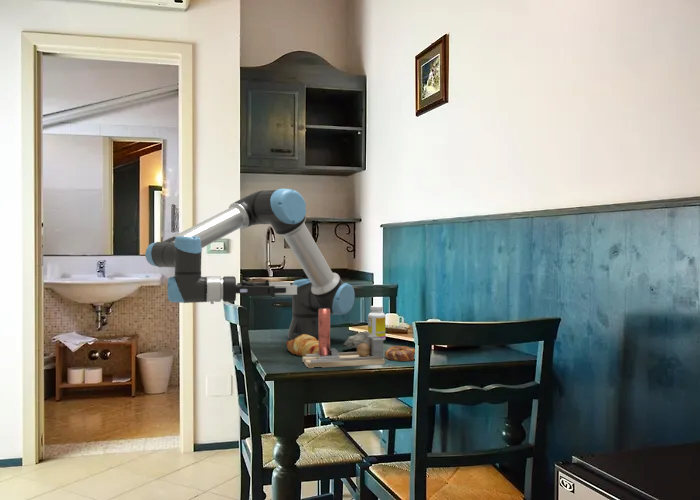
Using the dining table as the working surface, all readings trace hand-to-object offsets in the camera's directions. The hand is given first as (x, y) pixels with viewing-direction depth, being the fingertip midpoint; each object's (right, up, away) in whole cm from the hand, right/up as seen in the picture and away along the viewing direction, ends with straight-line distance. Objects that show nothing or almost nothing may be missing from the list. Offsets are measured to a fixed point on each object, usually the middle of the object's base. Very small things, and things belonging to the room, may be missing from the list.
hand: (293, 288), depth 182 cm
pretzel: (+34, -24, +12) cm, 43 cm away
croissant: (+2, -24, +19) cm, 30 cm away
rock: (+21, -24, +24) cm, 40 cm away
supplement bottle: (+28, -23, +46) cm, 58 cm away
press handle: (+10, -22, +3) cm, 24 cm away
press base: (+15, -24, +4) cm, 28 cm away
